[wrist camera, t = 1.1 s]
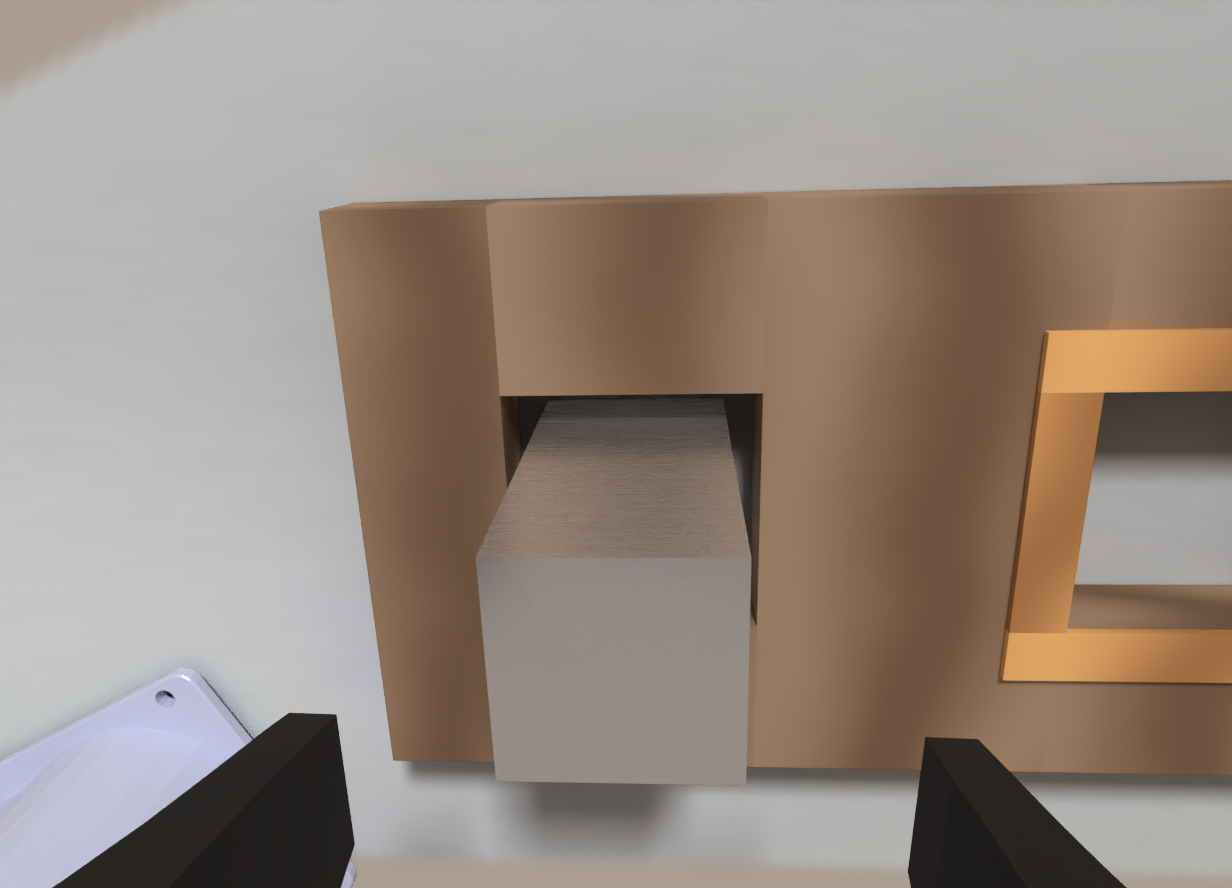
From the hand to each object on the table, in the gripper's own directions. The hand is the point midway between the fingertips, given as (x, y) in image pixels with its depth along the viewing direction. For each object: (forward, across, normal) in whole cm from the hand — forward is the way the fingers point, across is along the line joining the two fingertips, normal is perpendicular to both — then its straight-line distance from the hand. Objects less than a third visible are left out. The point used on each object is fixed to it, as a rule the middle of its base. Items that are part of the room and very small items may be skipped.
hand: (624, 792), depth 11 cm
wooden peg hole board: (+11, -6, 0) cm, 12 cm away
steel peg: (+11, 0, 0) cm, 11 cm away
